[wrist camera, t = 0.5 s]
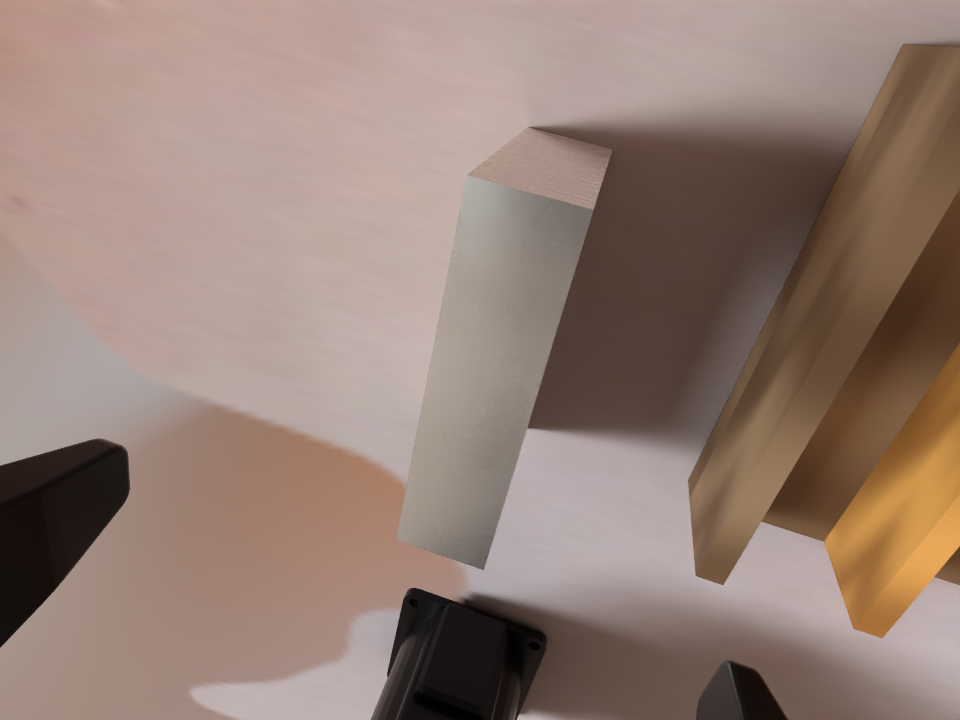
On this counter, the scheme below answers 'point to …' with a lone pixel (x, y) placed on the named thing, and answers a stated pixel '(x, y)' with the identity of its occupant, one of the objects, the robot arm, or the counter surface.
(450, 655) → the robot arm
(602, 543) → the counter surface
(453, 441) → the aluminium panel
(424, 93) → the counter surface
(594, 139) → the counter surface
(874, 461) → the walnut rack
